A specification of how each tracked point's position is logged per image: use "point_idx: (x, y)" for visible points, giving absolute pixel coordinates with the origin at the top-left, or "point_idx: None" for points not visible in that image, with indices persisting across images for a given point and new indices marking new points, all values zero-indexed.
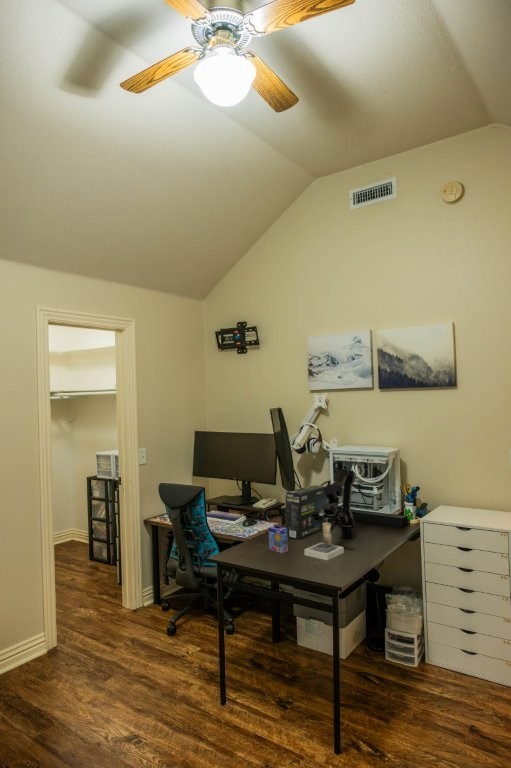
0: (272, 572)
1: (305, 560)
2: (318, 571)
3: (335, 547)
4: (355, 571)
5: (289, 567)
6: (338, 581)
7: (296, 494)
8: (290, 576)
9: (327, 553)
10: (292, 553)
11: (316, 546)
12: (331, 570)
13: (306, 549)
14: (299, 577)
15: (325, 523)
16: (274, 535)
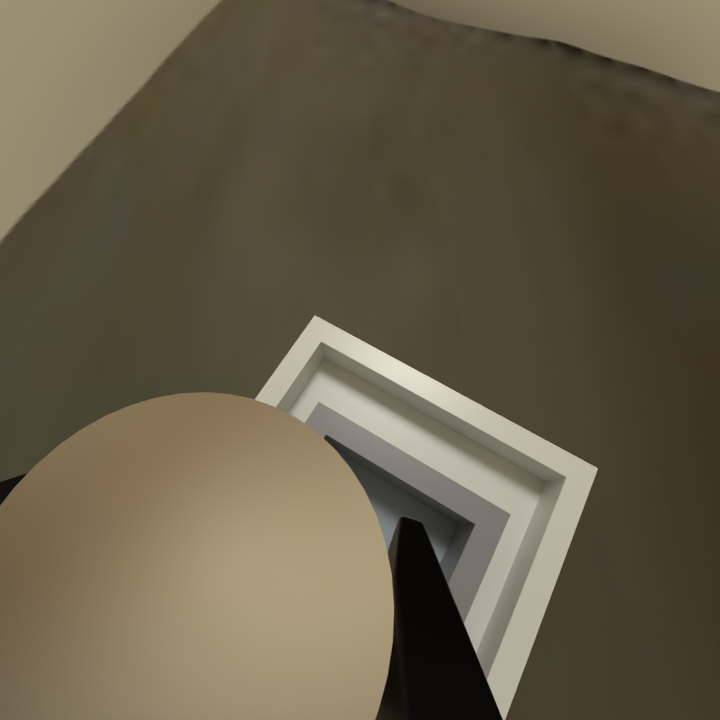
0: (662, 76)
1: (514, 315)
2: (377, 118)
3: None
4: (125, 143)
5: (590, 158)
6: (257, 12)
7: None
8: (533, 40)
9: (311, 341)
10: (713, 521)
11: (463, 548)
12: (290, 141)
13: (571, 462)
14: (478, 33)
15: (245, 608)
16: None
